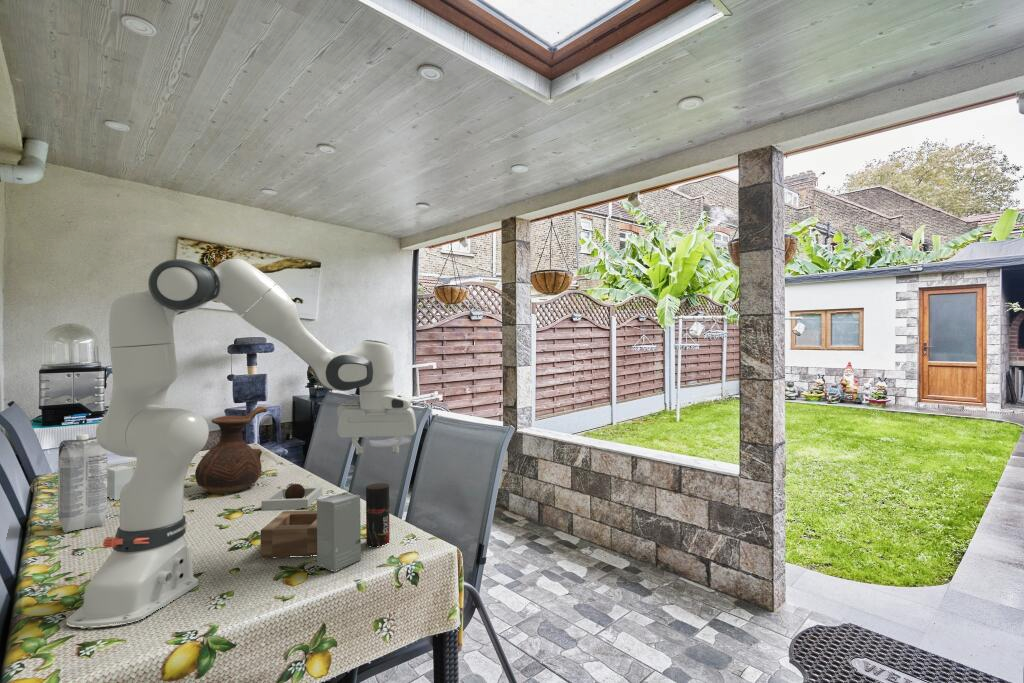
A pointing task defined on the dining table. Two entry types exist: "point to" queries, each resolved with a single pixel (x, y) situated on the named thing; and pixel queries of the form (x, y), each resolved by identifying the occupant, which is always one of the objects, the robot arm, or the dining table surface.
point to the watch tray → (278, 504)
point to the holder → (290, 535)
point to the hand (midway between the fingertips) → (377, 453)
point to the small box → (117, 480)
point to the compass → (295, 491)
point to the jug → (230, 458)
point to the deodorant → (377, 514)
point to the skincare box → (338, 531)
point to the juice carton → (82, 483)
